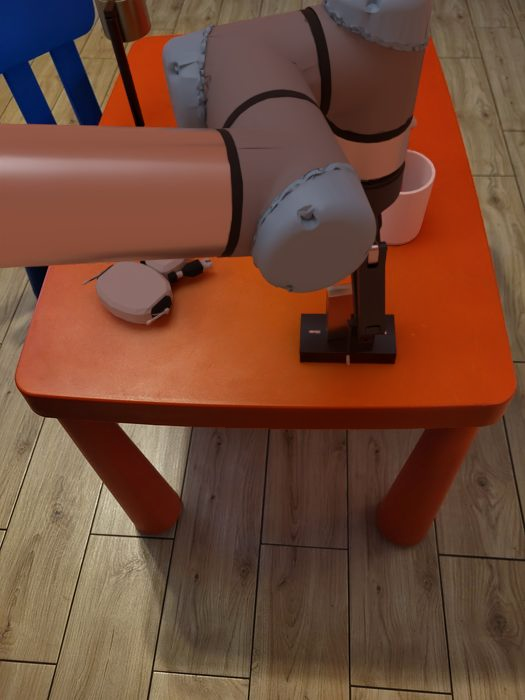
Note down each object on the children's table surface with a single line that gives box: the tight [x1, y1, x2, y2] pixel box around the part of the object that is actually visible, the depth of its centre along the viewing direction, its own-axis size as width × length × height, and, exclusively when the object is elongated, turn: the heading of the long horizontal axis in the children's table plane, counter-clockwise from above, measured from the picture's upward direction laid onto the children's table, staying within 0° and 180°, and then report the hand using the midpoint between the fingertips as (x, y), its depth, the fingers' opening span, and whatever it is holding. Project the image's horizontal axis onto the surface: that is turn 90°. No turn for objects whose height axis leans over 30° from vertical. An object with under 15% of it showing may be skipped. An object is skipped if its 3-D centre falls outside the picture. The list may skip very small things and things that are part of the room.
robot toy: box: [81, 257, 214, 326], centre depth 85 cm, size 12×4×15 cm
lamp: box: [94, 0, 152, 127], centre depth 95 cm, size 10×7×19 cm
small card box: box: [325, 283, 354, 340], centre depth 73 cm, size 6×2×9 cm, turn 97°
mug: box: [380, 148, 436, 246], centre depth 85 cm, size 11×9×10 cm
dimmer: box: [299, 313, 398, 366], centre depth 78 cm, size 12×10×3 cm
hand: (348, 301), depth 72 cm, fingers open, 13 cm apart
